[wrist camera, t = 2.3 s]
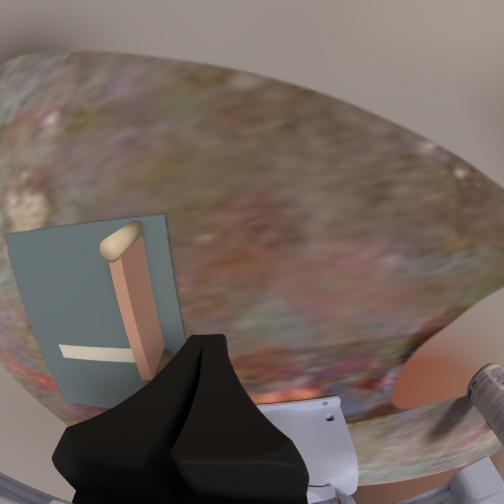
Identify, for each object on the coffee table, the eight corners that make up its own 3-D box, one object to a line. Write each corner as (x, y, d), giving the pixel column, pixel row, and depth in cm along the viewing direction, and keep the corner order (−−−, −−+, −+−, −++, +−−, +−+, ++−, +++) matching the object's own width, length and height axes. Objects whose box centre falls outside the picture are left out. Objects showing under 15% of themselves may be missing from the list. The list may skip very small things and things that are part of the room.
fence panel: (167, 346, 22) (154, 384, 18) (152, 346, 22) (137, 383, 18) (143, 219, 19) (117, 237, 15) (126, 220, 19) (97, 239, 15)
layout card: (166, 213, 19) (164, 214, 19) (202, 411, 25) (202, 414, 25) (7, 234, 19) (4, 235, 19) (67, 399, 25) (66, 402, 24)
